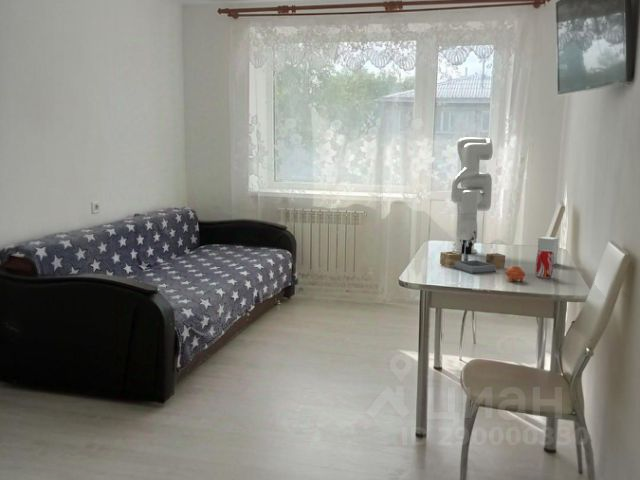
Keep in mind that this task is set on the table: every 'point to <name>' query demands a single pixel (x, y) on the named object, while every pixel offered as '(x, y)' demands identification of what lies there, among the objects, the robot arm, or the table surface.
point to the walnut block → (496, 260)
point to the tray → (475, 266)
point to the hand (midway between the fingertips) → (466, 253)
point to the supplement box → (549, 245)
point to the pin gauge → (464, 252)
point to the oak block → (450, 258)
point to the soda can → (544, 263)
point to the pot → (515, 273)
